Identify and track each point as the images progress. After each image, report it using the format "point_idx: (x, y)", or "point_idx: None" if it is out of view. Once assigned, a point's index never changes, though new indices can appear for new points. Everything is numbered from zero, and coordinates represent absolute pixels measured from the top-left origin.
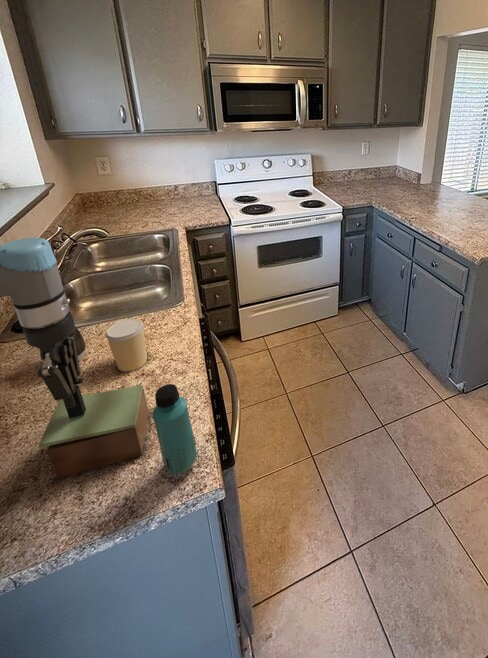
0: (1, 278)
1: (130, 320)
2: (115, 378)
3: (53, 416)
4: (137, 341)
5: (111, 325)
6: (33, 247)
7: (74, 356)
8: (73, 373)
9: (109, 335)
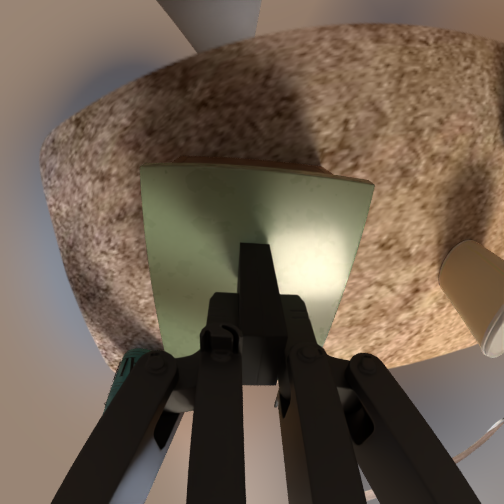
0: None
1: None
2: (440, 238)
3: (280, 180)
4: (472, 333)
5: None
6: None
7: (380, 496)
8: (285, 457)
9: None
